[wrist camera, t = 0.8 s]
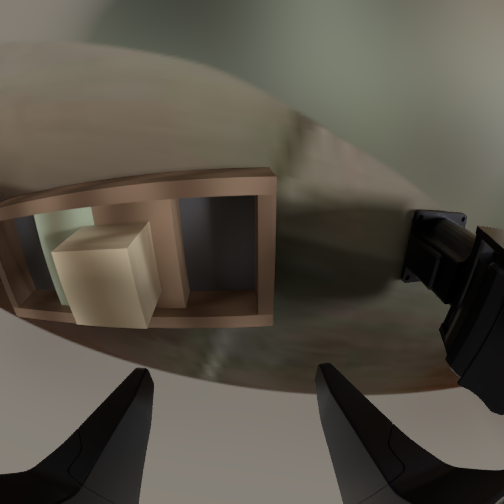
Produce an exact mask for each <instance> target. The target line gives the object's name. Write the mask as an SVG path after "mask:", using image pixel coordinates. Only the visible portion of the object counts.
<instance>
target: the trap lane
mask: <svg viewBox="0 0 504 504" xmlns="http://www.w3.org/2000/svg"><path fill="white" fill-rule="evenodd" d="M276 183H277V177H276V175H275V174H274V173H273V172H272V171H271V169H270V168H229V169H208V170H192V171H179V172H167V173H157V174H147V175H138V176H130V177H122V178H114V179H107V180H100V181H94V182H88V183H82V184H76V185H70V186H65V187H60V188H54V189H50V190H45V191H40V192H35V193H31V194H27V195H22V196H18V197H14V198H10V199H6V200H4V201H2V202H0V277H1V280H2V283H3V285H4V288H5V290H6V292H7V295H8V297H9V299H10V302H11V304H12V306H13V308H14V311H15V313H16V315H17V316H20V317H26V318H34V319H41V320H50V321H59V322H68V323H76V320H75V318H74V316H73V313H72V311H71V308H70V306H69V303H68V301H67V298H66V296H65V293H64V290H63V287H62V285H61V282H60V279H59V276H58V273H57V270H56V267H55V263H54V260H53V257H52V253H51V252H52V251H53V250H54V249H55V248H57V247H58V246H59V245H60V244H61V243H62V242H64V241H65V240H66V239H67V238H68V237H70V236H71V235H72V234H73V233H75V232H76V231H77V230H78V229H80V228H81V227H82V226H91V225H102V224H114V223H127V222H141V221H149V222H150V228H151V235H152V241H153V247H154V253H155V259H156V264H157V270H158V275H159V280H160V285H161V290H162V291H161V294H160V296H159V299H158V302H157V304H156V307H155V309H154V312H153V315H152V317H151V320H150V323H149V326H148V328H234V327H258V326H273V311H274V283H275V246H276Z"/></svg>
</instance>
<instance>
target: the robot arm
mask: <svg viewBox="0 0 504 504" xmlns="http://www.w3.org/2000/svg"><path fill="white" fill-rule="evenodd" d="M420 215H421V216H420ZM419 216H420V218H419ZM466 219H467V217H466V215H465V214H464V213H459V212H445V211H426V210H418V211H416V212H415V214H414V217H413V223H412V229H411V234H410V239H409V243H408V248H407V253H406V257H405V261H404V266H403V270H402V274H401V280H402V281H403V282H404V283H409V282H418V281H421V282H422V283H423V284H424V285H425V286H426V287H427V288H428V289H429V290H432V291H433V292H434V293H435V294H436V295H437V296H438V298H439V299H440V300H441V301H442V302H443V303H444V304H449V305H450V306H451V307H450V309H449V311H448V314H447V316H446V318H445V320H444V322H443V323H442V324H441V326H440V328H439V331H440V334H441V337H442V340H443V343H444V346H445V349H446V353H447V356H446V361H447V363H448V365H449V366H450V368H451V369H452V370H453V372H454V373H455V374H456V375H457V376H458V377H459V378H460V379H459V380H458V382H457V383H458V385H460V386H462V387H464V388H466V389H469V390H470V391H472V392H473V393H474V394H476V395H477V396H478V397H479V398H480V399H481V400H482V401H483V402H484V403H485V405H486V406H487V407H488V408H489V409H490V411H492V412H494V413H497V414H500V415H504V229H498V228H491V227H484V226H477V229H476V235H475V234H474V233H472V232H471V231H469V230H467V229H466V228H465V224H466ZM406 276H407V277H406ZM315 387H316V393H317V400H318V406H319V413H320V419H321V423H322V427H323V431H324V434H325V438H326V442H327V445H328V448H329V452H330V456H331V459H332V463H333V467H334V471H335V474H336V478H337V482H338V485H339V489H340V493H341V496H342V501H343V504H504V470H497V471H496V470H495V471H494V470H479V469H467V468H458V467H454V466H451V465H448V464H446V463H444V462H442V461H441V460H439V459H438V458H436V457H435V456H433V455H432V454H431V453H429V452H428V451H426V450H425V449H423V448H422V447H421V446H419V445H418V444H416V443H415V442H414V441H413V440H411V439H410V438H409V437H407V436H406V435H405V434H404V433H403V432H401V430H400V429H398V428H397V427H396V426H395V425H394V424H392V422H391V421H390V420H389V419H388V418H387V417H386V416H385V415H384V414H382V413H381V412H380V411H379V410H378V409H377V408H376V407H375V406H374V405H373V404H372V403H371V402H370V401H369V400H368V399H367V398H366V397H365V396H364V395H363V394H362V393H361V392H360V391H359V390H357V389H356V388H355V387H354V386H353V385H352V384H351V383H350V382H349V381H348V380H347V379H346V378H345V377H344V376H343V375H342V374H341V373H340V372H339V371H338V370H337V369H336V368H335V367H334V366H333V365H332V364H331V363H323V364H319V365H318V368H317V372H316V376H315ZM153 394H154V383H153V381H152V378H151V375H150V373H149V371H148V369H146V368H136V369H134V371H133V372H132V373H131V374H130V375H129V376H128V377H127V378H126V379H125V380H124V381H123V382H122V383H121V384H120V385H119V386H118V387H117V388H116V389H115V390H114V391H113V393H111V394H110V395H109V397H108V398H107V399H106V400H105V401H104V402H103V403H102V404H101V405H100V406H99V407H98V408H97V409H96V410H95V411H94V412H93V413H92V414H91V415H90V416H89V417H88V418H87V420H86V421H85V422H84V423H83V424H82V425H81V426H80V427H79V429H77V430H76V431H75V432H74V433H73V434H72V435H71V436H70V437H69V438H68V439H67V440H66V441H65V442H64V443H63V444H62V445H61V446H59V447H58V448H57V449H56V450H55V451H54V452H52V453H51V454H50V455H49V456H47V457H46V458H45V459H44V460H42V461H41V462H40V463H39V464H37V465H36V466H35V467H33V468H32V469H30V470H27V471H24V472H19V473H10V474H0V504H139V495H140V488H141V481H142V475H143V468H144V462H145V456H146V450H147V444H148V439H149V433H150V427H151V420H152V405H153Z"/></svg>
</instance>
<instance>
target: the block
mask: <svg viewBox="0 0 504 504" xmlns="http://www.w3.org/2000/svg"><path fill="white" fill-rule="evenodd" d="M51 253H52V257H53V260H54V263H55V267H56V270H57V273H58V276H59V279H60V282H61V285H62V287H63V290H64V293H65V296H66V298H67V301H68V303H69V306H70V308H71V311H72V313H73V316H74V318H75V320H76V323H77V324H78V325H89V326H103V327H119V328H140V329H147V328H148V326H149V323H150V320H151V317H152V315H153V312H154V309H155V307H156V304H157V302H158V299H159V296H160V294H161V291H162V290H161V285H160V280H159V275H158V270H157V264H156V259H155V253H154V247H153V241H152V235H151V228H150V222H149V221H141V222H127V223H114V224H102V225H91V226H82V227H81V228H80V229H78V230H77V231H76V232H75V233H73V234H72V235H71V236H70V237H68V238H67V239H66V240H65V241H64V242H62V243H61V244H60V245H59V246H58V247H57V248H55V249H54V250H53V251H52V252H51Z"/></svg>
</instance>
